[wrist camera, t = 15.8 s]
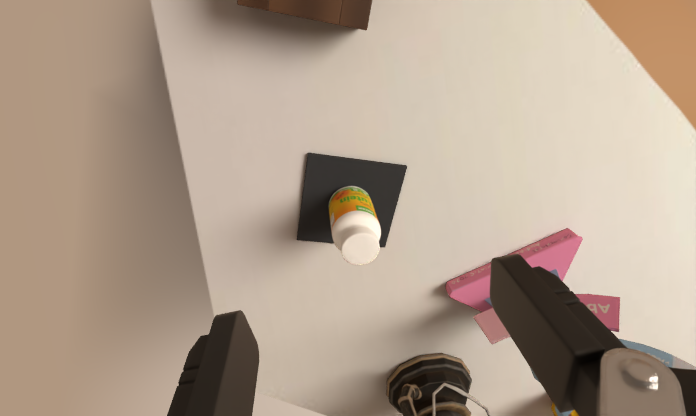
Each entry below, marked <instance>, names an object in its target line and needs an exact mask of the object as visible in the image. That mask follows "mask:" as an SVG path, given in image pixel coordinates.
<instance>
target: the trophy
mask: <svg viewBox="0 0 696 416" xmlns="http://www.w3.org/2000/svg"><path fill="white" fill-rule="evenodd" d="M582 240H583V239H582V237H580V236H578V235H576V234H575V233H574V232H573V231H571V230H570V229H568V228H567V229H565V230H562V231H560V232H558V233H556V234H553V235H551V236H549V237H547V238H544V239H542V240H540V241H538V242H535V243H533V244H531V245H529V246H526V247H524V248H522V249H520V250H517V251H515V252H513V253H511V254H519V255H521V256H522V257H523V258H524V259H525V260H526V262H527V263H528V264H529V265H530V266H531V267H532V268H533V267H537V266H540V267H542V268H544V269H546V270H547V271H549V272H551V273H553V274H555V275H556V276H558V278H559V279H560V280H561V281H563V279H564V277H565V275H566V273H567V271H568V268H569V266H570V264H571V262H572V260H573V258H574V256H575V254H576V252H577V250H578V248H579V246H580V244H581V242H582ZM511 254H508V255H511ZM490 274H491V263H488V264H486V265H484V266H482V267H479V268H477V269H475V270H473V271H470V272H468V273H466V274H464V275H461V276H459V277H457V278H455V279H452V280H450V281H448V282H447V283H446V290H447V292H448V294H449V296H450V298H453V299H455V300H457V301H459V302H462V303H464V304H466V305H468V306H471V307H473V308H475V309H477V310H479V311H482V313H479V314H477V315H475V316H473V317H474V319H475V321H476V322H477V323H478V325H479V326H480V328H481V329H482V331H483V332H484V334H485V335H486V337H487V338H488V340H489V341H490V342H491V344H494V343H496V342H498V341H501V340H503V339H505V338H508V337H511V336H510V335H509V333H508V331H507V330H506V328H505V327H504V325H503V324H502V322H501V321H500V319H499V318H498V316H497V314H496V313H495V311H494V309H493V306H492V303H491V300H490ZM575 295H576V296H577V297H578V298H579V299H580V302H583V303H584V304H585V305H586V306H587V307H588V308H589V309H590V310H591V311H592V312H593V314H594V315H595V316H596V317H597V318H598V319H599V320H600V321H601V322H602V323H603V324H604V325H605V326H606V327H607V328H608V329H609V330H610V331H616V332H619V309H620V297H612V296H602V295H592V294H575ZM619 340H620V341H621V342H622V343H623V344H624V345H625V346H626V347H627V348H630V349H634V350H638V351H641V352H644V353H646V354H649V355H651V356H653V357H654V358H656V359H658V360H659V361H661V362H662V363H663V364H665V365H666V366H667V367H672V368H680V369H692V370H696V367H694V366H693V365H691V364H689V363H687V362H685V361H683V360H681V359H679V358H677V357H675V356H673V355H671V354H668V353H666V352H664V351H661V350H658V349H655V348H652V347H649V346H646V345H643V344H639V343H635V342H631V341H626V340H622V339H619ZM530 368H531V367H530ZM531 371H532V373H533V376H534V378H535V379H536V380H538V378H537V377H536V375H535V373H534V372H533V370H532V369H531ZM538 381H539V380H538ZM539 382H540V381H539ZM555 411H556V413H557V415H558V416H568V415H569V414H570V413H571V412H572V411H573V410H572V411H567V412H562V413H560V412H559V411H558V409H557V408H556V406H555Z"/></svg>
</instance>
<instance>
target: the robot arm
mask: <svg viewBox="0 0 696 416" xmlns="http://www.w3.org/2000/svg"><path fill="white" fill-rule="evenodd" d="M490 300H491V303H492V306H493V309H494V311H495V313H496V314H497V316H498V318H499V319H500V321H501V322H502V324H503V325H504V327H505V328H506V330H507V331H508V333H509V335H510V336H511V338H512V339H513V341H514V342H515V344H516V345H517V347H518V349H519V350H520V352H521V353H522V355H523V356H524V358H525V359H526V361H527V363H528V364H529V366H530V367H531V369H532V370H533V372H534V373H535V375H536V377H537V378H538V380H539V381H540V383H541V384H542V386H543V387H544V389H545V390H546V392H547V394H548V395H549V397H550V398H551V400H552V401H553V403H554V404H555V406H556V408H557V409H558V411H559V412H560V413H562V412H567V411H572V410H575V411H576V412H577V414H578V415H579V416H696V370H692V369H680V368H672V367H667V366H666V365H665V364H663V363H662V362H661V361H659V360H658V359H656V358H654V357H653V356H651V355H649V354H646V353H644V352H641V351H638V350H634V349H630V348H627V347H626V346H625V345H624V344H623V343H622V342H621V341H620V340H619V339H618V338H617V337H616V336H615V335H614V334H613V333H612V332H611V331H610V330H609V329H608V328H607V327H606V326H605V325H604V324H603V323H602V322H601V321H600V320H599V319H598V318H597V317H596V316H595V315H594V314H593V312H592V311H591V310H590V309H589V308H588V307H587V306H586V305H585V304H584V303H583V302H580V299H579V298H578V297H577V296H576V295H575V294H574V293H573V292H572V291H570V290H569V288H568V287H567V286H566V285H565V284H564V283H563V282H562V281H561V280H560V279H559V278H558V276H556V275H555V274H553V273H551V272H549V271H547V270H546V269H544V268H542V267H540V266H537V267H533V268H532V267H531V266H530V265H529V264H528V263H527V262H526V260H525V259H524V258H523V257H522V256H521V255H519V254H511V255H506V256H502V257H497V258H493V259H492V261H491V274H490ZM258 366H259V349H258V345H257V341H256V339H255V337H254V335H253V333H252V330H251V328H250V326H249V324H248V322H247V320H246V317H245V315H244V313H243V312H242V311H241V310H239V311H234V312H230V313H225V314H220V315H216V316H215V318H214V320H213V323H212V326H211V330H210V333H209V334H208V335H204V336H200V338H199V339H198V341H197V342H196V343H195V345H194V346H193V347H192V349H191V350H190V351H189V354H188V356H187V359H186V362H185V365H184V368H183V370H184V371H183V372H182V374H181V377H180V380H179V386H177V388H176V391H175V394H174V397H173V400H172V403H171V406H170V409H169V412H168V414H167V416H252V411H253V404H254V396H255V388H256V381H257V373H258Z"/></svg>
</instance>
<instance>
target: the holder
mask: <svg viewBox="0 0 696 416" xmlns="http://www.w3.org/2000/svg"><path fill="white" fill-rule="evenodd" d="M237 4H238V5H242V6H247V7H252V8H257V9H262V10H267V11H272V12H277V13H282V14H287V15H292V16H297V17H302V18H307V19H312V20H317V21H322V22H327V23H332V24H337V25H342V26H347V27H352V28H357V29H362V30H367V26H368V21H369V15H370V10H371V4H372V0H237Z"/></svg>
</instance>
